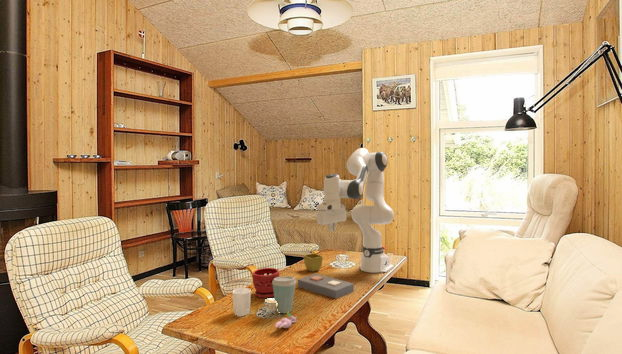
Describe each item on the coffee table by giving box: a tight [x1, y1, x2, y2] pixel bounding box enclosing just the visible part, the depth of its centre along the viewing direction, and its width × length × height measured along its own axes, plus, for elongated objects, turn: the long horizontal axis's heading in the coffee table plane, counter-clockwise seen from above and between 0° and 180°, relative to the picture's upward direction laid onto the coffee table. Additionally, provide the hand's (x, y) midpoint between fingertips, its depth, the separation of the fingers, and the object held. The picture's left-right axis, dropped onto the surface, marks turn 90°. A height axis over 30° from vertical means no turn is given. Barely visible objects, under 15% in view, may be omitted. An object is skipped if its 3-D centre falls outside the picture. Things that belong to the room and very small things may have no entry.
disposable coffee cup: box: [272, 275, 298, 314], centre depth 165 cm, size 11×11×15 cm
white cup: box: [232, 287, 252, 317], centre depth 163 cm, size 8×8×10 cm
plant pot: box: [252, 267, 280, 299], centre depth 186 cm, size 13×13×12 cm
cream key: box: [327, 280, 341, 286], centre depth 190 cm, size 5×5×3 cm
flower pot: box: [303, 253, 324, 272], centre depth 228 cm, size 9×9×9 cm
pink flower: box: [274, 311, 298, 329], centre depth 149 cm, size 6×6×15 cm
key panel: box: [297, 273, 355, 300], centre depth 194 cm, size 14×26×4 cm, turn 47°
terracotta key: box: [310, 276, 323, 281], centre depth 198 cm, size 5×5×3 cm
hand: (332, 231), depth 197 cm, fingers closed
